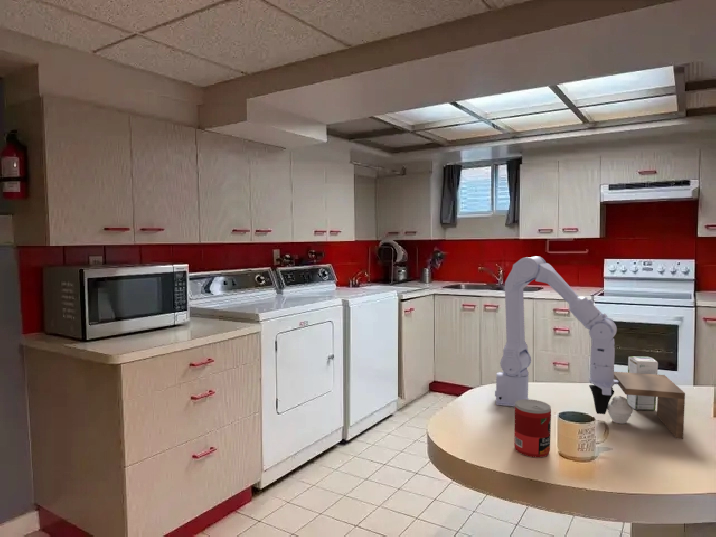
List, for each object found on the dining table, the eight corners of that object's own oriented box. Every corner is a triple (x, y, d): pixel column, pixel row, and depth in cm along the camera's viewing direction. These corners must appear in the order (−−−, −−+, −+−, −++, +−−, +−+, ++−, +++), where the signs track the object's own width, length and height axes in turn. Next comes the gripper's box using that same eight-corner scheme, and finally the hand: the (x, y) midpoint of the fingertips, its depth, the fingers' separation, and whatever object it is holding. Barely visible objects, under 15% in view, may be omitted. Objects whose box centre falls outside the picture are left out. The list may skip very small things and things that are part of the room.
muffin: (610, 424, 130) (610, 398, 129) (603, 416, 136) (604, 391, 135) (635, 426, 129) (636, 400, 128) (628, 418, 135) (628, 393, 134)
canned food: (546, 461, 109) (547, 413, 109) (510, 453, 114) (510, 406, 113) (553, 448, 116) (554, 402, 115) (518, 441, 120) (519, 397, 119)
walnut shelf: (624, 433, 124) (625, 388, 124) (611, 411, 140) (612, 371, 139) (683, 438, 121) (685, 393, 120) (662, 415, 136) (664, 374, 135)
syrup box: (646, 403, 146) (648, 355, 145) (656, 411, 140) (658, 360, 139) (626, 403, 146) (627, 355, 145) (635, 410, 140) (637, 360, 139)
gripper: (625, 372, 124) (623, 424, 125) (612, 358, 138) (611, 405, 139) (594, 370, 126) (593, 421, 127) (585, 356, 140) (584, 403, 141)
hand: (600, 413), depth 133 cm, fingers closed, pressing on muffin
